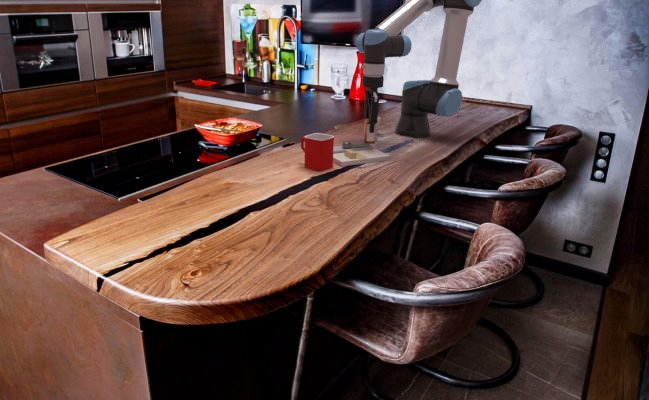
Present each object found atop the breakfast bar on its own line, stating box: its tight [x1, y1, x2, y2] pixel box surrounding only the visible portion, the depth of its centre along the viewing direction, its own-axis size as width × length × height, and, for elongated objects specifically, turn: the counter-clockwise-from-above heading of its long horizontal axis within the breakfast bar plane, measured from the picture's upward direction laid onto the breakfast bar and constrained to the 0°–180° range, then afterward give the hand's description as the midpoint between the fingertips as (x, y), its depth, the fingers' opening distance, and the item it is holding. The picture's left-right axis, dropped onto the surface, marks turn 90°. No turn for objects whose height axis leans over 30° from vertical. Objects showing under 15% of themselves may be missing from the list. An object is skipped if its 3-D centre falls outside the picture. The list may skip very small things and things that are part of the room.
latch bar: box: [341, 118, 376, 148], centre depth 183 cm, size 13×4×10 cm, turn 106°
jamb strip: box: [333, 144, 375, 154], centre depth 185 cm, size 20×6×2 cm, turn 118°
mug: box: [300, 132, 335, 172], centre depth 168 cm, size 12×8×11 cm
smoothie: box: [375, 116, 382, 143], centre depth 202 cm, size 6×6×14 cm
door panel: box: [333, 148, 391, 167], centre depth 178 cm, size 20×10×4 cm, turn 118°
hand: (368, 138), depth 184 cm, fingers open, 4 cm apart
